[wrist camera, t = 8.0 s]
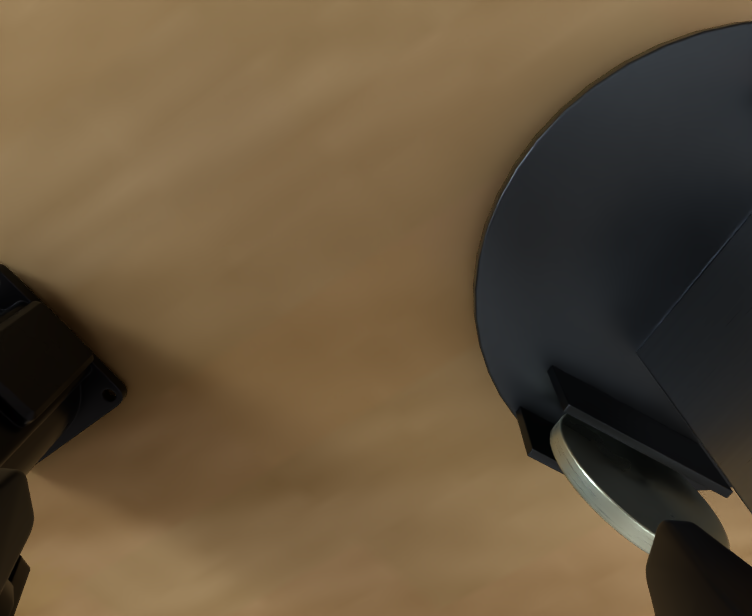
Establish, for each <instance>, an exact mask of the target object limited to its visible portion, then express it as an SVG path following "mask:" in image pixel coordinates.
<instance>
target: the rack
mask: <svg viewBox="0 0 752 616" xmlns="http://www.w3.org/2000/svg"><path fill="white" fill-rule="evenodd" d="M473 296H474V317H475V323H476V329H477V335H478V341H479V345H480V349H481V352H482V355H483V358H484V361H485V364H486V367H487V370H488V373H489V375H490V377H491V379H492V381H493V383H494V385H495V387H496V389H497V391H498V393H499V395H500V396H501V398H502V399H503V401H504V402H505V403H506V405H507V406H508V408H509V409H510V411H511V412H512V413H513V415H514V416H515V417H516V419H517V420H518V423H519V427H520V430H521V434H522V437H523V441H524V445H525V448H526V452H527V455H528V456H529V457H531V458H533V459H535V460H537V461H539V462H541V463H543V464H545V465H547V466H549V467H551V468H552V469H554V470H556V471H558V472H560V473H562V474H564V475H565V476H566V478H567V479H568V480H569V482H570V483H571V484H572V486H573V487H574V488H575V490H576V491H577V492H578V493H579V494H580V495H581V497H582V498H583V499H584V500H585V501H586V502H587V503H588V504H589V505H590V506H591V507H592V509H593V510H594V511H595V512H596V513H598V514H599V515H600V516H601V517H602V518H603V519H604V520H605V521H606V522H607V523H608V524H609V525H610V526H612V527H613V528H614V529H615V530H616V531H617V532H619V533H620V534H621V535H622V536H624V537H625V538H626V539H627V540H629V541H630V542H632V543H633V544H634V545H636V546H637V547H639V548H640V549H641V550H643V551H644V552H646V553H648V554H650V550H651V547H652V544H653V540H654V537H655V534H656V530H657V527H658V525H659V524H660V522H662V521H664V520H679V521H689V522H693V523H695V524H696V525H698V526H699V527H700V528H702V529H703V530H704V531H706V532H707V533H708V534H709V535H711V536H712V537H713V538H715V539H716V540H717V541H719V542H720V543H721V544H723V545H724V546H725V547H726V548H728V549H729V550H730V545H729V540H728V537H727V534H726V532H725V530H724V528H723V526H722V524H721V522H720V520H719V519H718V517H717V516H716V514H715V513H714V511H713V510H712V509H711V507H710V506H709V505H708V503H707V502H706V501H705V500H704V498H703V497H702V496H701V495H700V494H699V493H698V491H697V490H712V491H714V492H716V493H718V494H720V495H722V496H723V497H725V498H728V497H729V496H730V495H731V494H732V493H733V491H732V490H731V488H730V487H733V489H734V490H735V491H736V493H737V494H738V496H739V497H740V498H741V500H742V501H743V502H744V504H745V505H746V507H747V508H748V509H749V511H750V512H751V514H752V21H747V22H736V23H731V24H726V25H721V26H717V27H712V28H708V29H703V30H699V31H695V32H692V33H689V34H687V35H684V36H681V37H678V38H675V39H673V40H670V41H667V42H664V43H661V44H659V45H657V46H655V47H653V48H651V49H649V50H647V51H645V52H643V53H641V54H639V55H637V56H635V57H633V58H631V59H629V60H627V61H625V62H623V63H621V64H620V65H618V66H617V67H615V68H613V69H612V70H610V71H609V72H607V73H606V74H604V75H603V76H601V77H600V78H598V79H597V80H595V81H594V82H592V83H591V84H589V85H588V86H587V87H586V88H585V89H583V90H582V91H581V92H580V93H579V94H577V95H576V96H575V97H574V98H573V99H572V100H570V101H569V102H568V103H567V104H566V105H564V106H563V107H562V108H561V109H560V110H559V111H558V112H557V113H556V114H555V115H554V116H553V117H552V118H551V119H550V121H549V122H548V123H547V124H546V125H545V126H544V127H543V128H542V129H541V130H540V131H539V132H538V133H537V134H536V135H535V137H534V138H533V139H532V141H531V142H530V143H529V145H528V146H527V148H526V149H525V150H524V152H523V153H522V154H521V156H520V157H519V158H518V160H517V161H516V162H515V164H514V165H513V167H512V169H511V171H510V172H509V174H508V176H507V178H506V180H505V181H504V183H503V185H502V187H501V188H500V190H499V192H498V194H497V196H496V198H495V201H494V203H493V206H492V208H491V211H490V213H489V216H488V218H487V221H486V223H485V226H484V229H483V233H482V237H481V241H480V245H479V249H478V253H477V258H476V266H475V274H474V283H473Z"/></svg>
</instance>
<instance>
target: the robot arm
mask: <svg viewBox="0 0 752 616" xmlns="http://www.w3.org/2000/svg"><path fill="white" fill-rule="evenodd" d="M107 389H110V390H112V391H113V392H114V393H115V394H116V396H114V395H111V394H109V393H108V391H107ZM126 394H127V389H126V386H125V385H124V384H123V382H122V381H121V380H120V379H119V378H118V377H117V376H116V375H115V374H114V373H113V372H112V371H111V370H110V369H109V368H108V367H107V366H106V365H105V364H104V363H103V362H102V361H101V360H100V359H99V358H98V357H97V356H96V355H95V354H94V353H93V352H92V351H91V350H90V349H89V348H88V347H87V346H86V345H85V344H84V343H83V342H82V341H81V340H80V339H79V338H78V337H77V336H76V335H75V334H74V333H73V332H72V331H71V330H70V329H69V328H68V327H67V326H66V325H65V324H64V323H63V322H62V321H61V320H60V319H59V318H58V317H57V316H56V315H55V314H54V313H53V312H52V311H51V310H50V309H49V308H48V307H47V306H46V305H45V304H44V303H43V302H42V301H41V300H40V299H39V298H38V297H37V296H36V295H35V294H34V293H33V292H32V291H31V290H30V289H29V288H28V287H27V286H25V285H24V284H23V283H22V282H21V281H20V280H19V279H18V278H17V277H16V276H15V275H14V274H13V273H12V272H11V271H10V270H9V269H8V268H7V267H6V266H4V265H2V264H0V616H14V614H15V611H16V608H17V606H18V603H19V600H20V597H21V594H22V591H23V589H24V586H25V583H26V580H27V577H28V575H29V572H30V567H29V566H28V564H27V563H26V562H25V560H24V559H23V558H22V556H21V555H20V553H21V551H22V549H23V547H24V545H25V543H26V541H27V539H28V537H29V535H30V533H31V530H32V527H33V522H34V513H33V508H32V503H31V498H30V493H29V487H28V482H27V478H26V475H27V473H28V472H29V471H30V470H31V469H32V468H33V467H34V465H36V464H37V463H38V462H40V461H41V460H43V459H44V458H45V457H47V456H48V455H50V454H51V453H52V452H54V451H55V450H57V449H58V448H59V447H61V446H62V445H64V444H65V443H66V442H68V441H69V440H71V439H72V438H73V437H75V436H76V435H77V434H79V433H80V432H82V431H83V430H84V429H86V428H87V427H89V426H90V425H91V424H93V423H94V422H96V421H97V420H98V419H100V418H101V417H103V416H104V415H105V414H107V413H108V412H110V411H111V410H112V409H114V408H115V407H117V406H118V405H119V404H120V403H121V402H122V400H123V399H124V398H125V397H126ZM646 579H647V584H648V588H649V592H650V596H651V600H652V604H653V608H654V612H655V616H752V567H751V566H750V565H749V564H747V563H746V562H745V561H743V560H742V559H741V558H740V557H738V556H737V555H736V554H734V553H733V552H732V551H730V550H729V549H728V548H726V547H725V546H724V545H723V544H721V543H720V542H719V541H717V540H716V539H715V538H713V537H712V536H711V535H709V534H708V533H707V532H706V531H704V530H703V529H702V528H700V527H699V526H698V525H696V524H695V523H693V522H689V521H679V520H664V521H662V522H660V524H659V525H658V527H657V530H656V534H655V537H654V540H653V544H652V547H651V550H650V554H649V557H648V560H647V564H646Z"/></svg>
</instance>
